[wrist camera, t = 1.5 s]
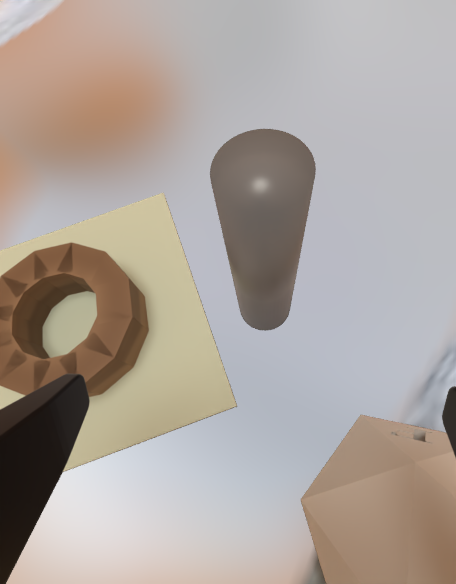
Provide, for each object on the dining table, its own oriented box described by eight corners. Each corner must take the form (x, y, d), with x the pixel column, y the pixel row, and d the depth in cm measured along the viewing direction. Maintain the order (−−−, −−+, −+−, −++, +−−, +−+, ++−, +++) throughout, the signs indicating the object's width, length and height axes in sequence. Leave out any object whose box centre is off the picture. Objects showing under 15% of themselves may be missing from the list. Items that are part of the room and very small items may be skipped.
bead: (111, 421, 21) (87, 419, 18) (-13, 373, 23) (-52, 365, 20) (168, 284, 24) (154, 265, 21) (53, 251, 26) (27, 230, 23)
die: (507, 518, 18) (547, 390, 13) (534, 772, 12) (624, 707, 7) (343, 470, 22) (326, 358, 17) (303, 643, 16) (261, 546, 11)
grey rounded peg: (282, 336, 22) (300, 225, 10) (233, 322, 23) (195, 201, 11) (295, 290, 23) (326, 138, 11) (248, 277, 24) (229, 121, 12)
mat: (237, 406, 21) (236, 405, 21) (-26, 505, 20) (-31, 506, 20) (164, 196, 27) (163, 192, 27) (-41, 268, 26) (-45, 266, 26)
